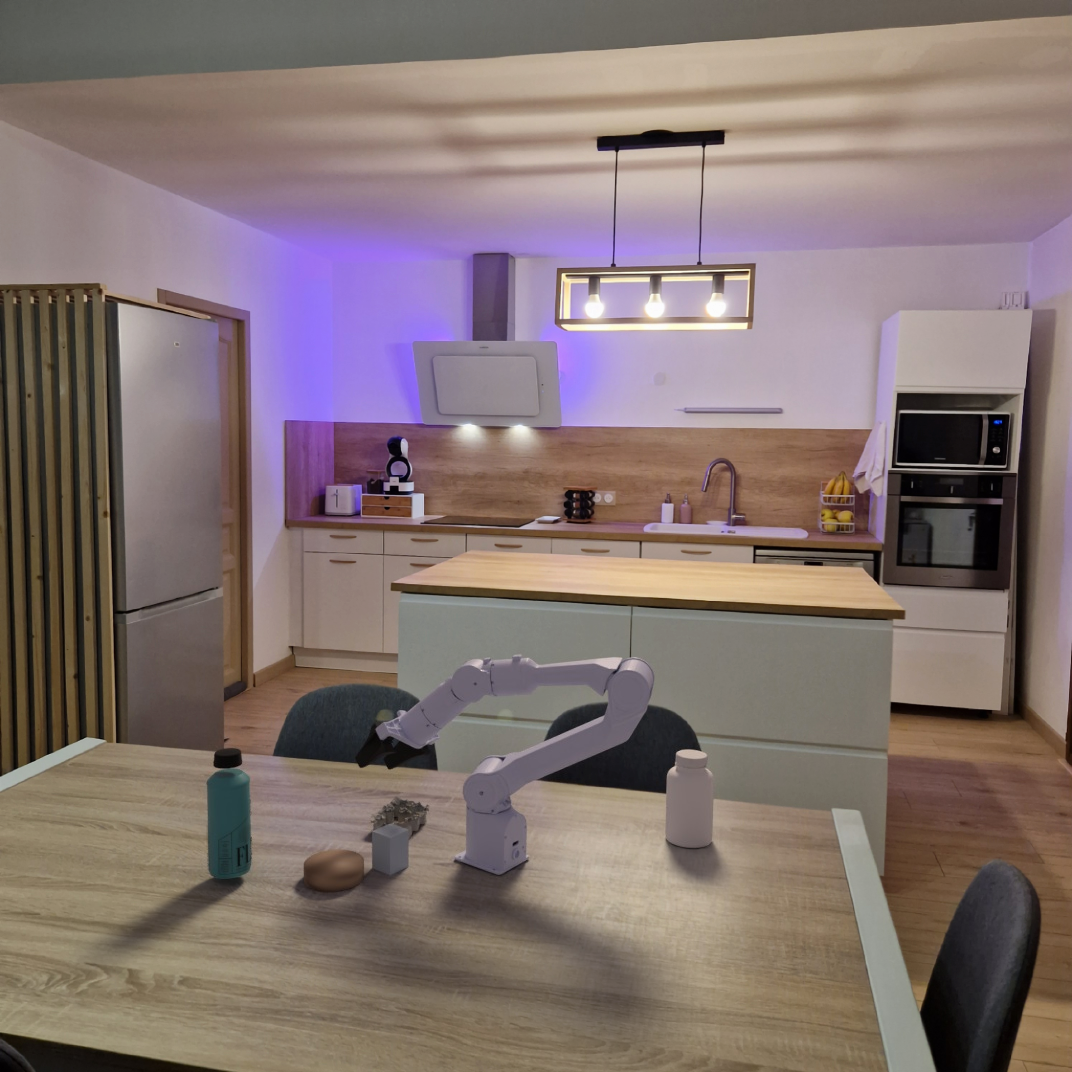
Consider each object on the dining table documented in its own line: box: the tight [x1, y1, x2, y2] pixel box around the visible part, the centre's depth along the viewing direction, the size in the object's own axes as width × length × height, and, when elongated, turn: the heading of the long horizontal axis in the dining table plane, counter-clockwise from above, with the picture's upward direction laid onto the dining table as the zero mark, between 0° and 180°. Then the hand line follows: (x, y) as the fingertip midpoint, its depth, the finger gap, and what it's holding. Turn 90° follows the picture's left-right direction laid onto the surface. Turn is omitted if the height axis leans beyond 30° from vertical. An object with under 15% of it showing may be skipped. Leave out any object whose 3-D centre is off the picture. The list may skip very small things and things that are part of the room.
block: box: [371, 823, 410, 876], centre depth 146 cm, size 4×4×6 cm
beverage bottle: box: [205, 747, 253, 880], centre depth 140 cm, size 6×7×20 cm
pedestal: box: [303, 849, 365, 893], centre depth 142 cm, size 9×9×2 cm
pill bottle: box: [664, 749, 715, 849], centre depth 158 cm, size 8×8×15 cm
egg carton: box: [369, 796, 430, 839], centre depth 161 cm, size 11×8×4 cm
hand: (372, 763), depth 152 cm, fingers open, 7 cm apart
